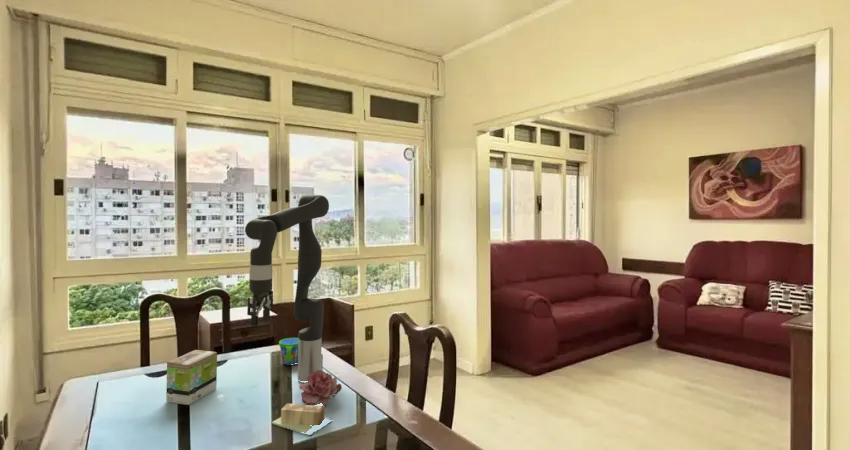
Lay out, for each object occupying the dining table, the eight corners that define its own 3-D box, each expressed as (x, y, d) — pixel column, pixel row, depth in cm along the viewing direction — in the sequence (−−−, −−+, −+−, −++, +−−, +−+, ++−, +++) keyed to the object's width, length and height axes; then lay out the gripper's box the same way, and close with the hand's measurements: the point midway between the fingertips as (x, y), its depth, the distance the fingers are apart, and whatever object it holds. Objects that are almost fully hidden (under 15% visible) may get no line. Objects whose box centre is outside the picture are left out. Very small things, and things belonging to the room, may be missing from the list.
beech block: (287, 403, 154) (324, 406, 152) (286, 416, 154) (324, 419, 153) (281, 409, 149) (319, 412, 148) (281, 423, 150) (319, 426, 148)
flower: (295, 386, 173) (300, 364, 170) (334, 386, 178) (339, 365, 176) (298, 414, 160) (303, 391, 157) (339, 413, 165) (345, 391, 162)
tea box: (190, 405, 161) (190, 364, 160) (165, 402, 163) (165, 361, 162) (217, 388, 176) (217, 350, 175) (194, 385, 178) (194, 348, 177)
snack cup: (284, 357, 212) (284, 335, 212) (307, 357, 212) (307, 335, 212) (274, 369, 197) (274, 346, 196) (298, 370, 197) (299, 346, 196)
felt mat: (295, 410, 160) (295, 408, 160) (332, 421, 153) (332, 419, 153) (271, 423, 150) (271, 422, 150) (310, 436, 143) (310, 434, 143)
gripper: (261, 281, 151) (261, 329, 152) (280, 274, 165) (279, 318, 166) (240, 280, 152) (240, 328, 153) (260, 273, 166) (260, 317, 167)
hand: (260, 323), depth 159 cm, fingers open, 8 cm apart
